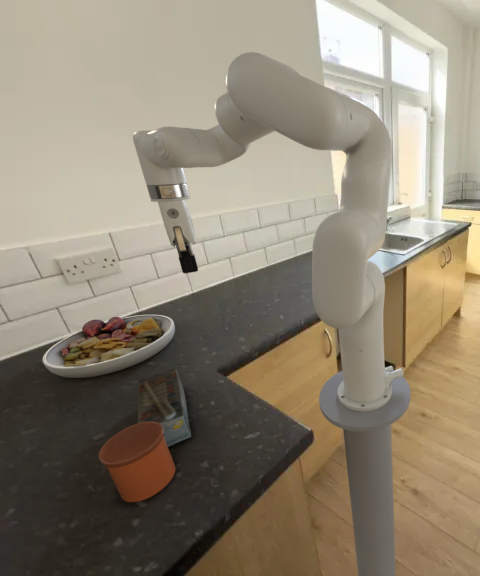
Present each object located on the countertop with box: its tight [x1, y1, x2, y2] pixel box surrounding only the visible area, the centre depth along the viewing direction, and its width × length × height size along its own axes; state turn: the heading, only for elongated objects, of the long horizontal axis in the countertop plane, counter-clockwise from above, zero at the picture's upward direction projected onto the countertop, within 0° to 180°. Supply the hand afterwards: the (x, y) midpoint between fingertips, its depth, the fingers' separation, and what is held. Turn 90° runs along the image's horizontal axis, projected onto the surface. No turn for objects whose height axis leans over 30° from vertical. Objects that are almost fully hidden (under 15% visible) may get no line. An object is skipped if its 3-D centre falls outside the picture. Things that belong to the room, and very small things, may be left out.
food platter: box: [42, 314, 176, 379], centre depth 93 cm, size 30×30×8 cm
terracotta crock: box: [98, 421, 176, 503], centre depth 54 cm, size 9×9×9 cm
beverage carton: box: [137, 368, 192, 448], centre depth 68 cm, size 8×19×7 cm, turn 35°
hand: (190, 271), depth 77 cm, fingers closed
